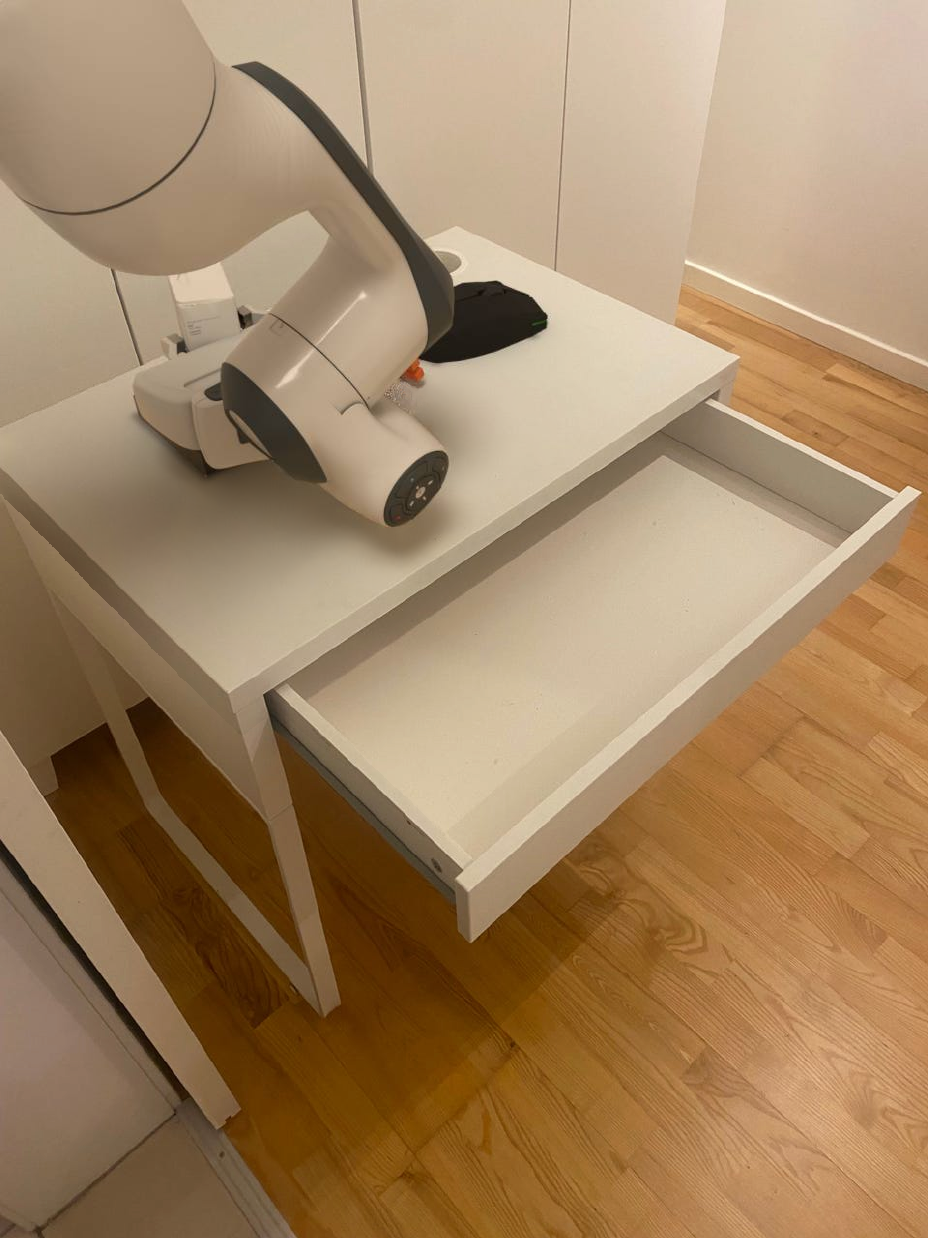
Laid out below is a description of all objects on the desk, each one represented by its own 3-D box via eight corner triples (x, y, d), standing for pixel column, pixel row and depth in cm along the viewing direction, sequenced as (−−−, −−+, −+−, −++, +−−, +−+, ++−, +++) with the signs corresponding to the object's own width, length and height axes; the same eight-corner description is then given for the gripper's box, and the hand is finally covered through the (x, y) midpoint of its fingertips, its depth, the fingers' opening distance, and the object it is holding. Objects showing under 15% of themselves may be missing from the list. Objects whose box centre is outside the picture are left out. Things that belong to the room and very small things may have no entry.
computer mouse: (375, 325, 104) (373, 291, 101) (495, 281, 111) (496, 248, 108) (435, 375, 98) (435, 341, 95) (558, 325, 105) (562, 292, 102)
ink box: (259, 413, 88) (237, 295, 79) (205, 424, 87) (177, 306, 78) (240, 362, 94) (218, 247, 85) (189, 372, 92) (161, 256, 84)
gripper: (391, 319, 82) (295, 257, 88) (181, 414, 72) (92, 337, 79) (394, 381, 86) (303, 318, 93) (197, 478, 77) (112, 401, 84)
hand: (204, 328), depth 86 cm, fingers closed on ink box, 6 cm apart
